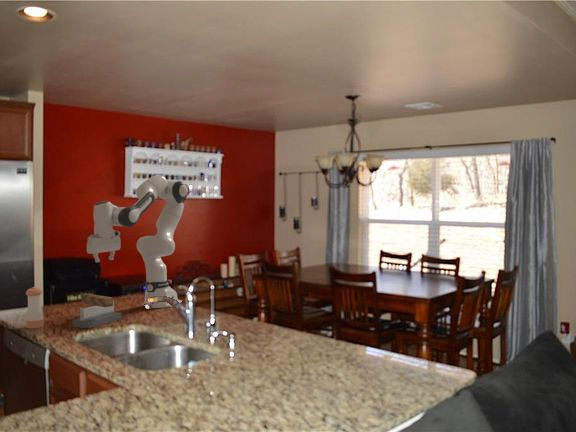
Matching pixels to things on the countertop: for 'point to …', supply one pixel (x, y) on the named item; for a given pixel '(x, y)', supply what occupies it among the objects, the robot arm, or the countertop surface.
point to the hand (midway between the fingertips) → (104, 260)
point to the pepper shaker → (34, 308)
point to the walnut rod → (97, 300)
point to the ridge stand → (96, 316)
